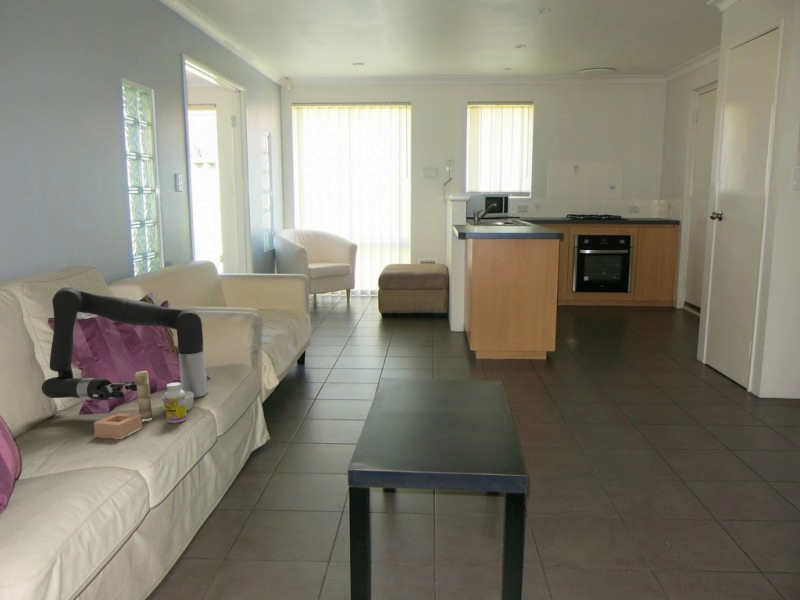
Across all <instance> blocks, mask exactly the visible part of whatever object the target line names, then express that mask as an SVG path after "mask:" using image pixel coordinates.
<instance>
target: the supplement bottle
mask: <svg viewBox="0 0 800 600" xmlns="http://www.w3.org/2000/svg"><path fill="white" fill-rule="evenodd" d="M166 390H167V391H166V392H165V393H164V394H163V395H164V398H165V408H164V410H165V409H166V410H165V417H166V418H165V420H166V422H167V423H169V424H178V423H182V422H184V421H186V420H187V418H188V415H187V411H186V402H185V392H184V391H183V390H182V389H181V382H178V381H177V382H176V381H175V382H169V383H168V384H166Z"/></svg>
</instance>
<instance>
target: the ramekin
mask: <svg viewBox="0 0 800 600" xmlns="http://www.w3.org/2000/svg"><path fill="white" fill-rule="evenodd" d="M184 392H185V402H186V412H188V411H190V410H192V408H193V407H194V399H195V398H194V393H193V392H190V391H184ZM164 395H165V394H163V395H162V396H161V401H162V403H163V407H164V411H166V409H165V398H164Z"/></svg>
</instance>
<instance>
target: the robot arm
mask: <svg viewBox="0 0 800 600" xmlns="http://www.w3.org/2000/svg"><path fill="white" fill-rule="evenodd" d="M51 302H52V306H53V307H52V309H53V323H54V324H53V334H52V335H53V336H52V341H51V348H50V354H49V355H50V356H49V369H50V370H51V371H53V372H57V374H58V375H57V376H56V377H55V376H54V377H50V378H47V379H46V380H44V381H43V383H42V385H41V392H42V394H43V395H44V396H45V397H48V398H50V399H61V398H63V399H64V398H75V399H84V400H92V401H94V400H95V401H107V400H109V399H111V400H112V399H123V398H124V394H125V393H127V392H132V391H133V392H137V385H136V381H125V380H124V381H123V380H122V381H119V382H111V380H109V379H107V378H100V377H99V378H97V377H96V378H95V377H87V378H85V377H74V373H73V367H72V362H73V351H74V329H75V323H76V319H77V317H78V316H77V315H78V313H85V314H89V315H90V314H91V315H92V314H93V315H96V316H99V317H102V318H104V319H106V320H110V321H113V322H116V323H120V324H125V325H131V326H143V327H145V326H146V327H149V326H150V327H152V326H153V327H154V326H155V327H165V328H169V329H172V330H176V336H177V337H176V338H177V354H178V364H179V376H180V383H181V390H183V391H190V392H193V393H194V398H193V399H196V398H201V397H204V396H206V395H207V394H208V392H209V389H208V387H209V386H208V377H207V376H208V375H207V368H206V365H205V356H204V336H203V323H202V319H201V317H200V316H199V313H197V312H196V311H194V310H191V309H183V308H182V309H181V308H169V307H166V306H165V307H164V306H161V305H160V306H159V305H156V304H154V303H150V302H145V301H140V300H138V299H131V298H124V297H118V296H109V295H101V294H96V293H92V292H88V291H84V290H81V289H78V288H74V287H62V288H60V289H59V290H57V291H56V293H54V295H53V297H52V301H51Z"/></svg>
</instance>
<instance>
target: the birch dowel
mask: <svg viewBox="0 0 800 600" xmlns="http://www.w3.org/2000/svg"><path fill="white" fill-rule="evenodd" d="M134 375H135V384H136V385H137V391H136V394H137V402H138V413H139V414H138V415H141V420H142V419H149V418H152V419H153V412H152V411H153V410H152V401H151V398H152V397H151V390H150V388H151V387H150V381H149V371H147V370H140V371H137V372H135V374H134Z"/></svg>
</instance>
